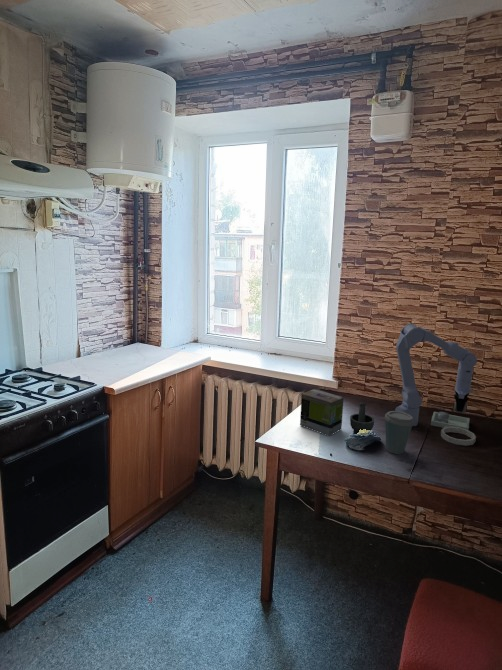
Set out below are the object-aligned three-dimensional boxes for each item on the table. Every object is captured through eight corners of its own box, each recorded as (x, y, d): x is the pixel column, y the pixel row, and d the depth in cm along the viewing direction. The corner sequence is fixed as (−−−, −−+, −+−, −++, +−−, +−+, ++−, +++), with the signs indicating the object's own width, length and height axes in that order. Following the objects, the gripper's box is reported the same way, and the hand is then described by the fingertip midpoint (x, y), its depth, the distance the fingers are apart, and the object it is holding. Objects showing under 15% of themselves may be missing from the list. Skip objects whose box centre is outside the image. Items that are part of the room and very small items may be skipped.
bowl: (456, 449, 172) (457, 442, 172) (434, 435, 184) (435, 428, 183) (481, 445, 176) (482, 438, 176) (458, 432, 188) (459, 425, 187)
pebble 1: (441, 424, 192) (443, 416, 191) (434, 420, 196) (436, 412, 195) (450, 423, 193) (451, 415, 192) (443, 419, 197) (444, 411, 196)
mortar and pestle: (373, 440, 178) (375, 412, 175) (349, 437, 180) (351, 410, 177) (371, 428, 189) (374, 402, 186) (349, 426, 191) (351, 399, 188)
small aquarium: (342, 429, 187) (344, 396, 184) (329, 437, 180) (331, 402, 177) (312, 419, 197) (314, 387, 194) (299, 425, 190) (300, 393, 186)
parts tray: (430, 427, 192) (431, 420, 191) (433, 417, 202) (433, 411, 201) (467, 434, 185) (468, 428, 185) (468, 424, 195) (469, 418, 195)
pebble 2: (459, 413, 188) (460, 404, 187) (451, 409, 192) (452, 400, 191) (467, 412, 189) (468, 403, 188) (459, 408, 193) (461, 399, 192)
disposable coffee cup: (386, 441, 177) (390, 406, 174) (414, 449, 171) (418, 413, 168) (377, 451, 169) (381, 414, 165) (405, 460, 163) (410, 422, 159)
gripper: (474, 385, 179) (469, 417, 182) (474, 376, 192) (470, 405, 195) (455, 382, 182) (450, 413, 185) (457, 373, 195) (452, 402, 198)
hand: (459, 409), depth 190 cm, fingers closed on pebble 2, 4 cm apart
